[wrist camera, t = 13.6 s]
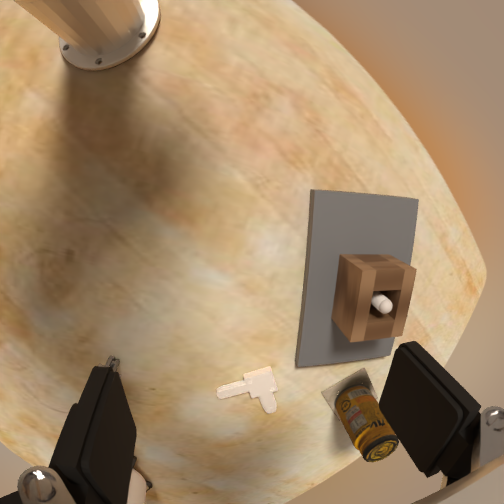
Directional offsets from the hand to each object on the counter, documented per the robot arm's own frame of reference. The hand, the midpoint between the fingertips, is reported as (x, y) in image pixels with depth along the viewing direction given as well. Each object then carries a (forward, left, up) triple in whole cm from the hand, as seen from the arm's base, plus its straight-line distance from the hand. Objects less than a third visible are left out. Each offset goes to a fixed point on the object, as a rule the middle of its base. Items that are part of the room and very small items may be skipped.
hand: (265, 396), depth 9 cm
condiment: (+25, +19, -26) cm, 41 cm away
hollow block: (+6, +16, -24) cm, 30 cm away
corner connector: (+22, +3, -26) cm, 35 cm away
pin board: (+6, +16, -26) cm, 31 cm away
